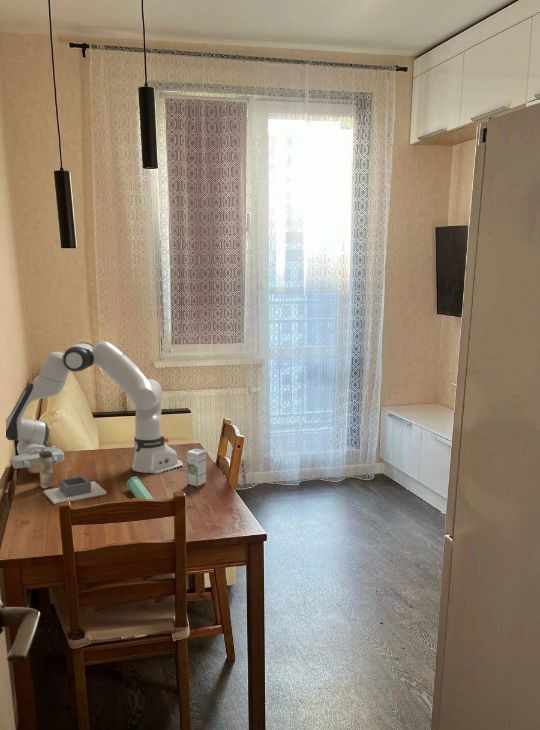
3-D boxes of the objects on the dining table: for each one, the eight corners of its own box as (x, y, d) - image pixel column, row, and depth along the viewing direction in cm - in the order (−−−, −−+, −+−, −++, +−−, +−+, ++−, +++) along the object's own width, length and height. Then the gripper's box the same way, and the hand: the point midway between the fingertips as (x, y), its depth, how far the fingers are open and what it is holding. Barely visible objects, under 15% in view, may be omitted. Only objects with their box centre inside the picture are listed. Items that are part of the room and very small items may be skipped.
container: (155, 496, 218) (137, 473, 240) (140, 504, 216) (124, 481, 238) (161, 509, 220) (143, 486, 242) (146, 517, 218) (130, 493, 240)
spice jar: (50, 483, 245) (49, 450, 243) (53, 486, 242) (52, 453, 240) (40, 485, 243) (39, 452, 240) (43, 488, 239) (41, 454, 237)
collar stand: (94, 483, 246) (93, 471, 245) (106, 494, 235) (106, 481, 234) (43, 492, 235) (43, 480, 234) (54, 504, 223) (53, 491, 223)
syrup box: (206, 484, 249) (206, 450, 247) (197, 488, 244) (197, 453, 242) (195, 481, 252) (195, 447, 250) (186, 485, 247) (186, 451, 245)
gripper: (8, 452, 249) (15, 460, 238) (58, 444, 261) (67, 452, 250) (8, 466, 250) (16, 476, 239) (58, 458, 262) (68, 467, 251)
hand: (43, 464), depth 245 cm, fingers open, 8 cm apart
